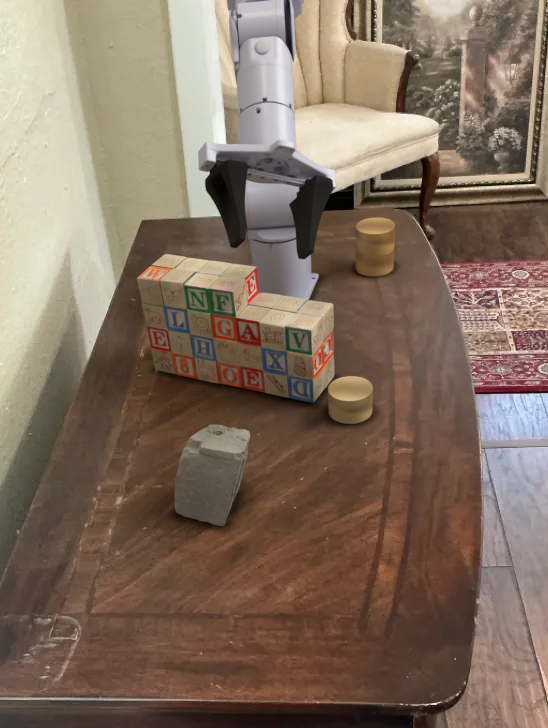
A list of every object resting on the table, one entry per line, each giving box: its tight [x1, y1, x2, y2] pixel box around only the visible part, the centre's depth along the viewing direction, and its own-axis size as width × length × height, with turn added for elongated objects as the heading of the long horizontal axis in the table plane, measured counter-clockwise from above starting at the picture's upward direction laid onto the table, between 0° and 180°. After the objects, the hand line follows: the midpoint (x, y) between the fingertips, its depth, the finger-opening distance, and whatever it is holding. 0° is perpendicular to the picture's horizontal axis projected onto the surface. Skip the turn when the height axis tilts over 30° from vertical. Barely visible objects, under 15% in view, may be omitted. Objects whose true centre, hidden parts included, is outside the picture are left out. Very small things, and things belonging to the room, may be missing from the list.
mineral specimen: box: [173, 424, 251, 527], centre depth 83 cm, size 7×9×8 cm
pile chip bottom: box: [355, 248, 395, 277], centre depth 118 cm, size 5×5×3 cm
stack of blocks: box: [136, 253, 335, 404], centre depth 98 cm, size 21×6×12 cm, turn 62°
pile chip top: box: [355, 216, 396, 255], centre depth 116 cm, size 5×5×3 cm
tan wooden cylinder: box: [327, 375, 374, 425], centre depth 94 cm, size 5×5×3 cm
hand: (272, 249), depth 86 cm, fingers open, 7 cm apart
